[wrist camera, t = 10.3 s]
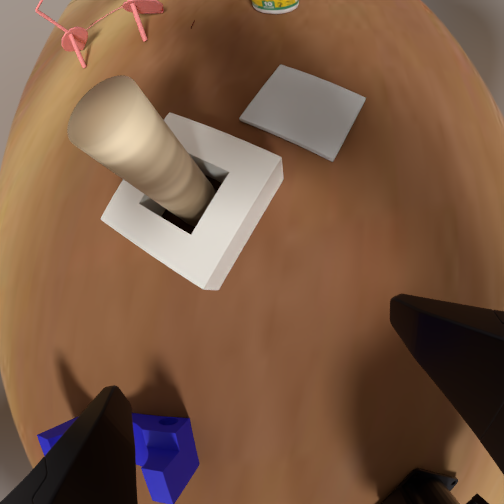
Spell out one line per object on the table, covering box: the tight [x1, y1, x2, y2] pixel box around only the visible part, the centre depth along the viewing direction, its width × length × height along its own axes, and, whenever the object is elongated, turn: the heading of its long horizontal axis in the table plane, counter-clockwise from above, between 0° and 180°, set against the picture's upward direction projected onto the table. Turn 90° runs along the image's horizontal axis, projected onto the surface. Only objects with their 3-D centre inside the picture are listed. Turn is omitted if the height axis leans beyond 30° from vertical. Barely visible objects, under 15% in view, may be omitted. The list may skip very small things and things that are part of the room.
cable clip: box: [37, 413, 199, 504], centre depth 16 cm, size 12×4×6 cm, turn 97°
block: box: [101, 112, 284, 290], centre depth 19 cm, size 9×9×4 cm
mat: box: [239, 64, 366, 162], centre depth 20 cm, size 8×7×1 cm
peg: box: [67, 76, 217, 226], centre depth 14 cm, size 3×3×12 cm
